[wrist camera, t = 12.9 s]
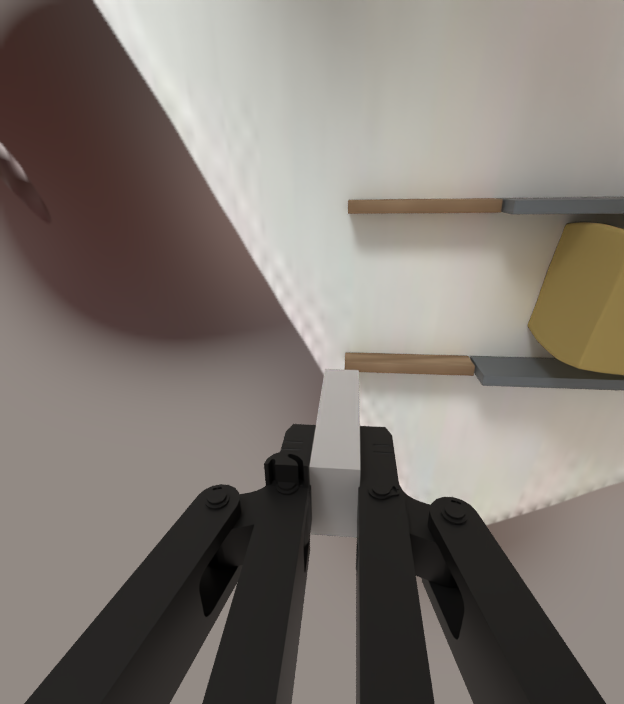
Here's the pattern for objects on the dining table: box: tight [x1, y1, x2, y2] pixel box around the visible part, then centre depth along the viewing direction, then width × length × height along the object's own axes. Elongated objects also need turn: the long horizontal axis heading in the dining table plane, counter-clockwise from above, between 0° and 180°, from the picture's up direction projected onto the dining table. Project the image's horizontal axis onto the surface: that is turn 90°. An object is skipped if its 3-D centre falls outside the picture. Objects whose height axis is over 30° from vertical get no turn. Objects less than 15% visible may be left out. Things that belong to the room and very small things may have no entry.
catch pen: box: [470, 197, 624, 390], centre depth 34 cm, size 16×17×4 cm
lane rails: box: [345, 198, 503, 376], centre depth 37 cm, size 16×12×2 cm
